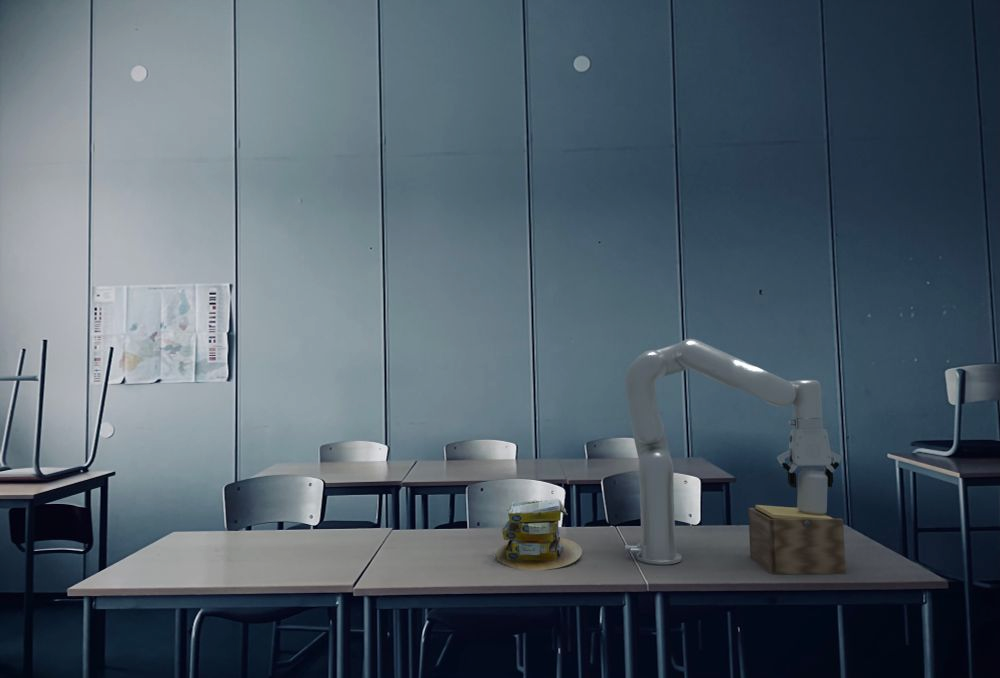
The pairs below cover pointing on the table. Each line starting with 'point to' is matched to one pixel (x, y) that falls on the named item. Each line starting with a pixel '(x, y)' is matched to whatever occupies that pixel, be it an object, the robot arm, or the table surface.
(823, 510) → the can
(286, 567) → the table surface
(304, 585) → the table surface
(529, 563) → the stacked yellow boxes
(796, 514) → the trapdoor flap
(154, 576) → the table surface
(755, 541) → the trapdoor frame
